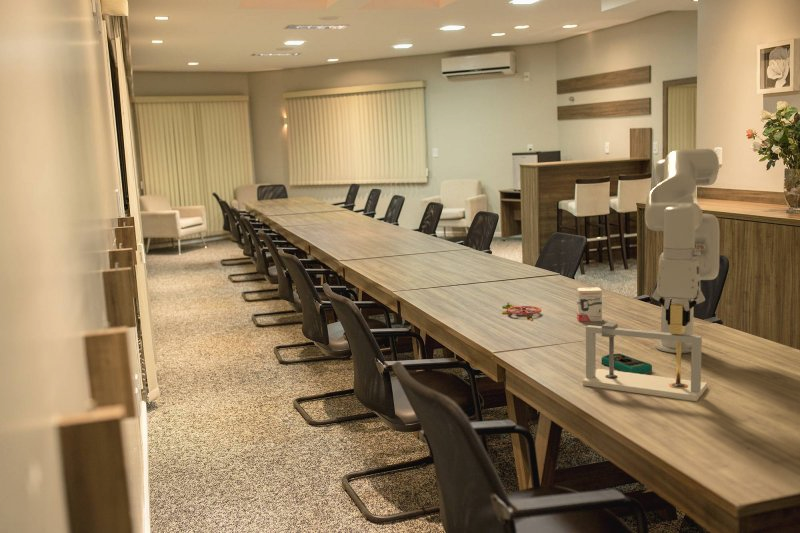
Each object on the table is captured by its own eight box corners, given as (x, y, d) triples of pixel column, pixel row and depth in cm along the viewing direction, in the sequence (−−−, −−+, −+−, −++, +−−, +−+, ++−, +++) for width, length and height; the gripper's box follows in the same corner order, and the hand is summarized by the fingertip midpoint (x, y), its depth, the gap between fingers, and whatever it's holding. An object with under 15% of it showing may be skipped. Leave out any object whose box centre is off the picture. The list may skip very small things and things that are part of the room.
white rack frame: (597, 373, 228) (597, 316, 225) (707, 387, 211) (708, 326, 209) (582, 385, 218) (582, 326, 215) (696, 401, 201) (697, 337, 199)
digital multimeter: (619, 361, 241) (619, 351, 240) (653, 373, 227) (653, 363, 227) (599, 364, 238) (599, 355, 237) (632, 377, 224) (632, 367, 224)
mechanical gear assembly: (513, 323, 294) (552, 321, 296) (513, 312, 293) (552, 310, 295) (492, 306, 323) (527, 305, 325) (492, 296, 322) (527, 295, 325)
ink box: (578, 321, 290) (578, 290, 288) (576, 318, 295) (576, 287, 293) (602, 321, 290) (602, 289, 288) (599, 318, 294) (599, 287, 293)
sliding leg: (673, 381, 211) (674, 302, 207) (684, 383, 209) (686, 303, 206) (668, 386, 207) (669, 305, 204) (680, 387, 206) (682, 306, 202)
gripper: (715, 253, 201) (714, 324, 204) (650, 250, 210) (650, 318, 213) (709, 257, 195) (707, 330, 198) (642, 254, 204) (641, 324, 207)
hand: (677, 323), depth 205 cm, fingers closed on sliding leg, 3 cm apart
